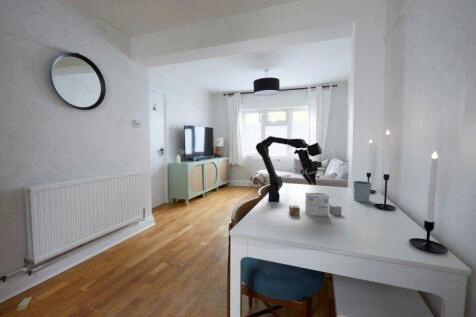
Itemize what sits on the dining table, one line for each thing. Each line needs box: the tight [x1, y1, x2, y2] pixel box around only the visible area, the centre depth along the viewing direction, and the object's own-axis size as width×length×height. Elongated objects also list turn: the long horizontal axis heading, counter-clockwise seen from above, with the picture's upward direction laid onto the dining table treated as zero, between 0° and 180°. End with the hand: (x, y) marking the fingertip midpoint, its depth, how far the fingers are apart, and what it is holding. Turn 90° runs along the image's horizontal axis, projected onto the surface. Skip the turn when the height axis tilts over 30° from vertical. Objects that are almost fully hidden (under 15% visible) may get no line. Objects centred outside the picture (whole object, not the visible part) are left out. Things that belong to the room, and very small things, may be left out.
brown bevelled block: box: [288, 204, 301, 217], centre depth 113 cm, size 4×4×5 cm
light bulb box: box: [305, 192, 330, 217], centre depth 114 cm, size 11×7×11 cm, turn 84°
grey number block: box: [329, 203, 342, 216], centre depth 114 cm, size 4×4×5 cm
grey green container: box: [353, 180, 373, 203], centre depth 139 cm, size 10×10×12 cm
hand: (312, 184), depth 125 cm, fingers open, 9 cm apart
